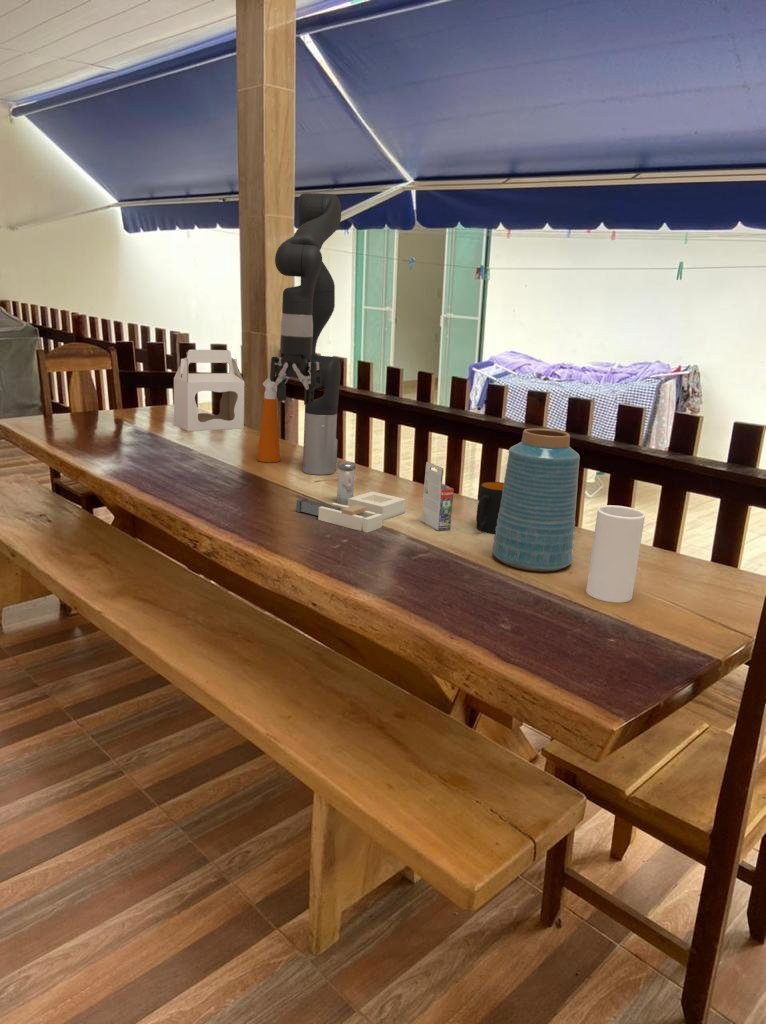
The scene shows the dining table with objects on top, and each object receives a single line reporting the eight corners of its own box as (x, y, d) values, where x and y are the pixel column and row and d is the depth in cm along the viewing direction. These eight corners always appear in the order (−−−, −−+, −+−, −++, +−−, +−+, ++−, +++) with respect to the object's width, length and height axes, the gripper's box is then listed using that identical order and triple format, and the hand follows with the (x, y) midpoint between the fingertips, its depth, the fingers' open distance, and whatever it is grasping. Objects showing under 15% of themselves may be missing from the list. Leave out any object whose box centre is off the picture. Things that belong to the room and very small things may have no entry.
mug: (460, 531, 178) (464, 487, 175) (488, 522, 187) (493, 480, 184) (490, 540, 173) (495, 494, 170) (518, 530, 182) (523, 487, 179)
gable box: (229, 422, 299) (230, 348, 291) (244, 428, 288) (245, 352, 281) (173, 425, 286) (172, 347, 278) (187, 431, 276) (186, 351, 268)
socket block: (371, 505, 195) (372, 491, 194) (404, 513, 190) (405, 499, 189) (347, 512, 187) (348, 498, 186) (381, 521, 181) (382, 506, 180)
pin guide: (333, 515, 184) (334, 499, 183) (381, 527, 177) (383, 510, 176) (318, 519, 179) (319, 503, 178) (367, 532, 172) (368, 515, 171)
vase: (578, 557, 165) (595, 432, 158) (562, 579, 150) (580, 443, 143) (504, 542, 171) (517, 422, 164) (481, 563, 157) (494, 432, 150)
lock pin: (304, 508, 187) (304, 498, 186) (340, 518, 181) (340, 506, 180) (296, 511, 184) (296, 500, 184) (332, 520, 179) (332, 509, 178)
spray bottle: (272, 466, 230) (274, 376, 223) (252, 459, 238) (254, 372, 231) (291, 464, 235) (294, 376, 228) (271, 457, 243) (274, 371, 235)
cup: (580, 585, 148) (591, 504, 143) (621, 586, 149) (634, 506, 144) (595, 602, 140) (607, 516, 136) (639, 603, 141) (652, 518, 136)
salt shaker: (342, 499, 199) (344, 460, 196) (357, 502, 196) (359, 463, 193) (331, 502, 195) (333, 463, 192) (346, 506, 192) (348, 466, 190)
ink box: (434, 520, 185) (439, 460, 181) (451, 530, 178) (456, 467, 174) (420, 521, 183) (425, 460, 179) (437, 531, 176) (442, 468, 172)
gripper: (330, 336, 182) (327, 405, 186) (285, 331, 190) (283, 398, 194) (309, 336, 176) (306, 408, 180) (263, 331, 184) (262, 400, 188)
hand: (294, 402), depth 187 cm, fingers open, 8 cm apart
